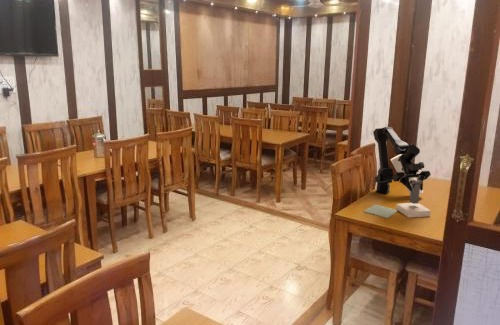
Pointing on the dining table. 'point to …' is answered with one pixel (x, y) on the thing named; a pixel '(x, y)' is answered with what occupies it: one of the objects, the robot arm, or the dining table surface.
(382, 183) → the robot arm
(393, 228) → the dining table surface
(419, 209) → the socket block
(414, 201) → the t key
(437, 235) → the dining table surface
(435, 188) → the dining table surface
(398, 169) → the cylindrical container
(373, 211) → the pad
